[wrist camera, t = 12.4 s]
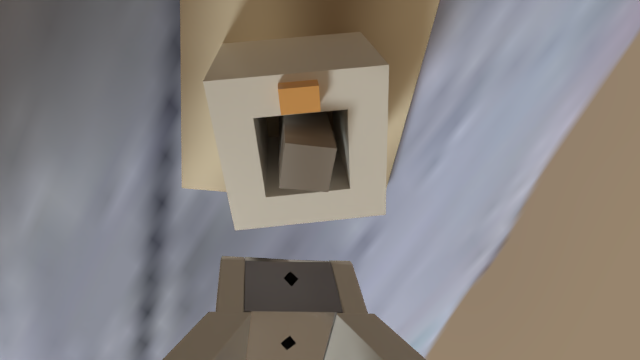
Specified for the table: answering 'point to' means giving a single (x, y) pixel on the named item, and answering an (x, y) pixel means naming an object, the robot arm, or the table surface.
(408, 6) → the shaft block
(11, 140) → the table surface
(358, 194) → the beige hollow cube
